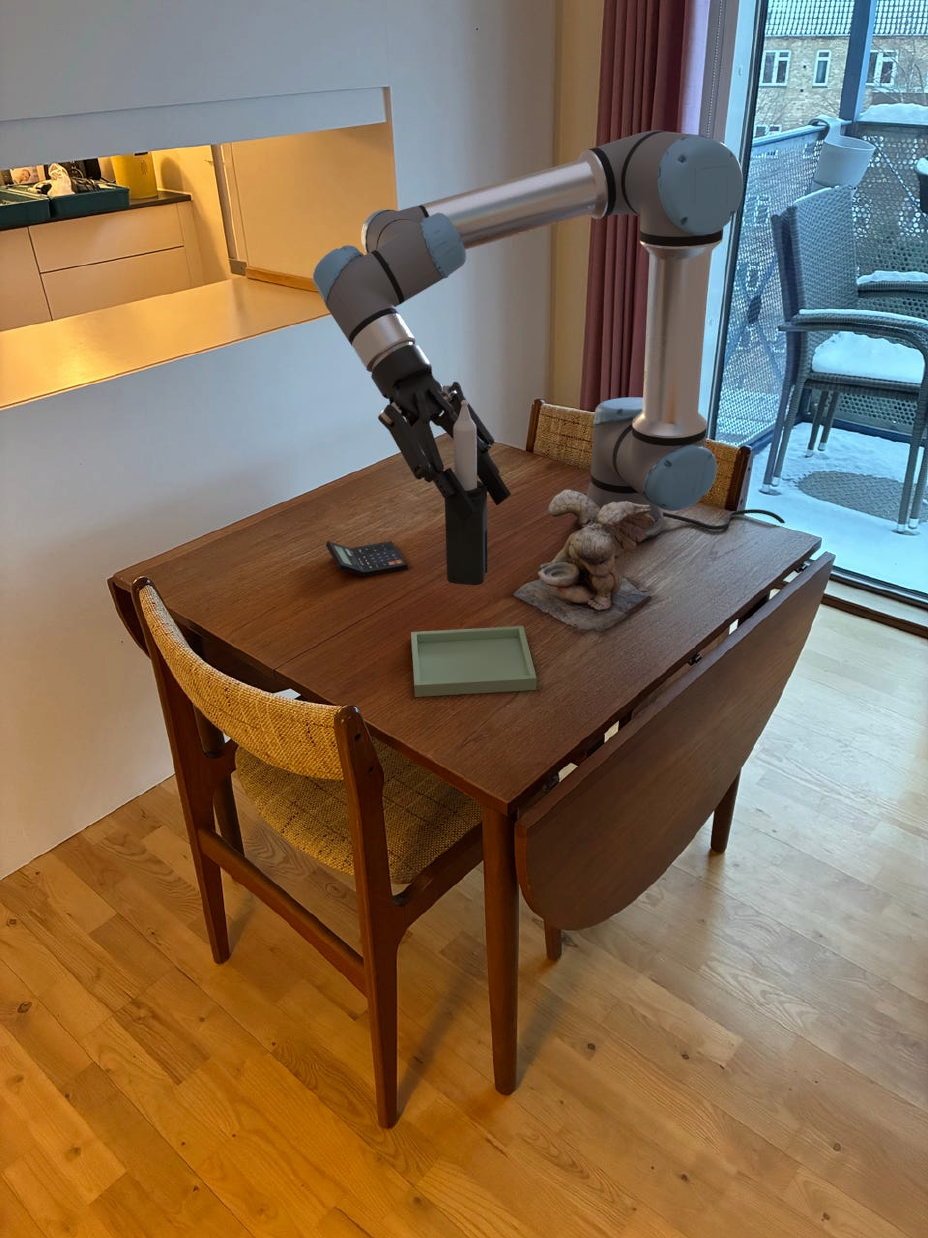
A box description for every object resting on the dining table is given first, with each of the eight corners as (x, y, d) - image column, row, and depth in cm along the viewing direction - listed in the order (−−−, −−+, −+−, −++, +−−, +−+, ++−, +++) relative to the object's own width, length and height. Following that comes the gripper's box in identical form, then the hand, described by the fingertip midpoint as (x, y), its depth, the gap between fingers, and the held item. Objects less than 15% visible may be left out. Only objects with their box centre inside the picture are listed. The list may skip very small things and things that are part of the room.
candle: (481, 586, 130) (480, 408, 117) (445, 582, 131) (439, 405, 118) (489, 568, 134) (488, 394, 121) (453, 565, 135) (448, 392, 122)
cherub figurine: (504, 597, 153) (505, 494, 144) (574, 559, 164) (579, 460, 155) (593, 638, 142) (601, 529, 133) (662, 593, 153) (673, 490, 144)
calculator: (407, 568, 162) (406, 553, 160) (340, 581, 158) (338, 565, 157) (391, 545, 169) (390, 530, 168) (327, 556, 166) (325, 541, 164)
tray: (523, 637, 143) (523, 625, 142) (536, 690, 131) (536, 678, 130) (411, 643, 142) (410, 631, 141) (414, 697, 130) (414, 685, 129)
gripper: (430, 359, 135) (517, 498, 134) (326, 392, 123) (422, 545, 122) (457, 327, 129) (549, 472, 128) (351, 358, 117) (451, 518, 116)
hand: (487, 507), depth 125 cm, fingers closed on candle, 6 cm apart
